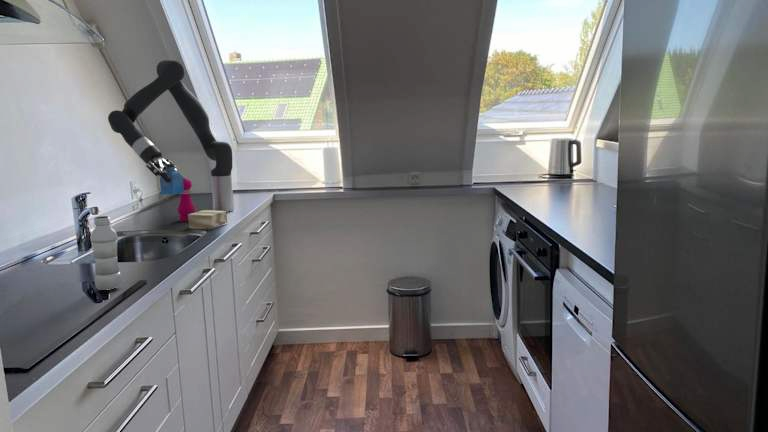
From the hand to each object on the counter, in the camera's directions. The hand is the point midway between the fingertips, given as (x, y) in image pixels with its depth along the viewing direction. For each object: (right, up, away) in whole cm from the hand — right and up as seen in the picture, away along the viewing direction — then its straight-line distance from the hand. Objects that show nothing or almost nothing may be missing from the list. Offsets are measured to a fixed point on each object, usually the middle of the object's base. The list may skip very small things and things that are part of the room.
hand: (175, 179), depth 226 cm
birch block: (+11, -19, +8) cm, 23 cm away
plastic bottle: (+10, -35, -75) cm, 84 cm away
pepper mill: (-3, -17, +21) cm, 27 cm away
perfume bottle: (-1, -6, +2) cm, 6 cm away
